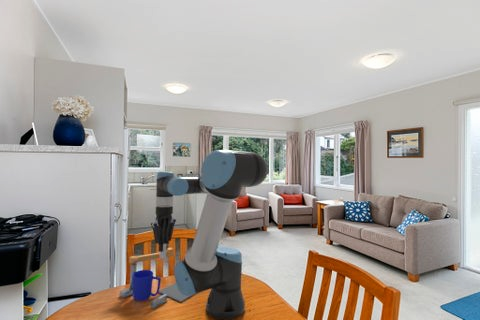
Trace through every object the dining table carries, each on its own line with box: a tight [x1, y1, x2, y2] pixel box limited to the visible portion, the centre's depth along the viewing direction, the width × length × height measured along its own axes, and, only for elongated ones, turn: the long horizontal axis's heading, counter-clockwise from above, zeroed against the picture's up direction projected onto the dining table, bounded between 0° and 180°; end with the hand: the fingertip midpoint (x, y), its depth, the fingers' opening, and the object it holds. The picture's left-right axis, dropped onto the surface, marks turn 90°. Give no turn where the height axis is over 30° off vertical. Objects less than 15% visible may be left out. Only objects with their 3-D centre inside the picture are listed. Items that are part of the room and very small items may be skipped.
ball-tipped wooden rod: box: [128, 247, 174, 265], centre depth 117 cm, size 19×4×3 cm, turn 125°
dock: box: [119, 263, 168, 310], centre depth 108 cm, size 19×10×12 cm, turn 58°
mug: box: [132, 269, 162, 302], centre depth 108 cm, size 8×12×10 cm
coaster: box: [158, 282, 194, 304], centre depth 114 cm, size 14×11×1 cm
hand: (162, 258), depth 117 cm, fingers closed
